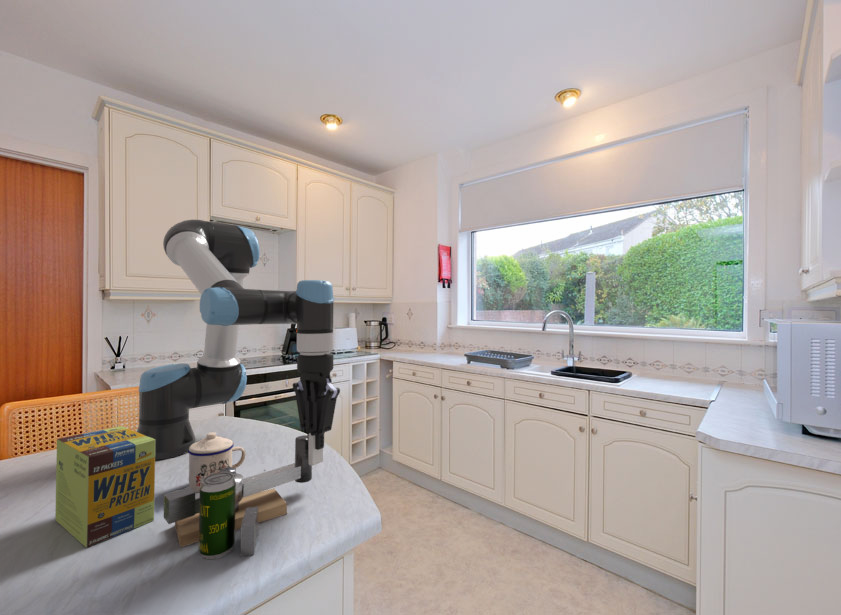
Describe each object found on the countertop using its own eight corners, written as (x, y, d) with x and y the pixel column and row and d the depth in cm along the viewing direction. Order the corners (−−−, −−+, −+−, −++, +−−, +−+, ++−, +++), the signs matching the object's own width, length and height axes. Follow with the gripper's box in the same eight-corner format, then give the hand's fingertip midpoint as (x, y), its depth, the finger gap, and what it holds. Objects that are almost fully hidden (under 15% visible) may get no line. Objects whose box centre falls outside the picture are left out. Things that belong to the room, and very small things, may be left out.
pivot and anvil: (213, 519, 74) (214, 469, 74) (244, 511, 77) (244, 462, 77) (231, 562, 62) (232, 502, 62) (267, 550, 65) (268, 492, 65)
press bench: (174, 525, 72) (175, 514, 72) (274, 497, 83) (274, 488, 83) (180, 547, 66) (180, 535, 66) (286, 513, 77) (287, 503, 77)
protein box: (86, 549, 65) (87, 456, 65) (54, 520, 73) (55, 438, 73) (155, 520, 74) (157, 438, 74) (120, 498, 82) (121, 424, 82)
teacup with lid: (192, 498, 82) (193, 443, 82) (183, 483, 89) (184, 432, 89) (251, 482, 90) (252, 431, 90) (239, 469, 97) (239, 422, 97)
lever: (170, 533, 65) (171, 478, 65) (161, 520, 68) (162, 469, 68) (317, 480, 85) (317, 439, 85) (304, 473, 88) (305, 433, 88)
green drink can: (226, 536, 69) (227, 469, 69) (240, 549, 65) (241, 478, 65) (193, 550, 65) (194, 479, 65) (206, 565, 61) (207, 489, 61)
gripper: (349, 353, 82) (349, 464, 82) (310, 349, 90) (310, 451, 90) (321, 356, 76) (321, 477, 76) (281, 352, 84) (282, 461, 84)
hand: (315, 462), depth 83 cm, fingers closed
